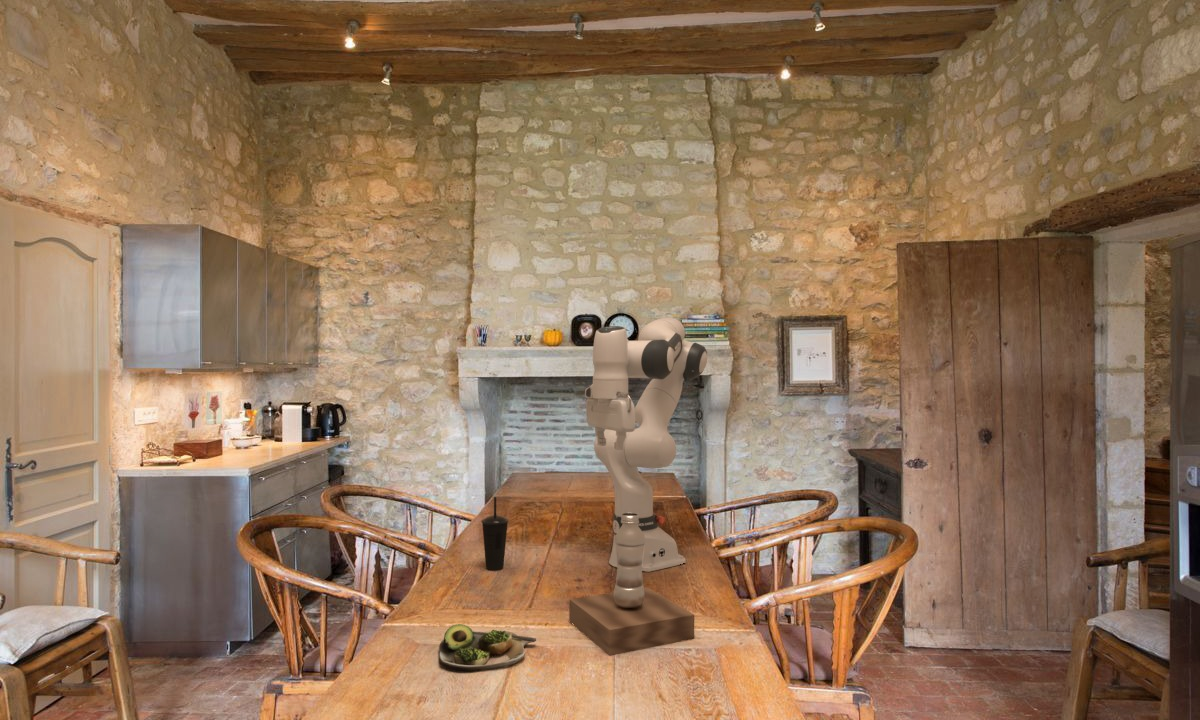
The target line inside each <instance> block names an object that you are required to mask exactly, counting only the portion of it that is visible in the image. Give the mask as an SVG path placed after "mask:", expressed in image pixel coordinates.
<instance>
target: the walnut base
mask: <svg viewBox="0 0 1200 720" xmlns="http://www.w3.org/2000/svg"><path fill="white" fill-rule="evenodd" d="M644 594H645V595H644V601H643V603H642V605H641V606H639V607H636V608H624V607H620V606H618V605H617V604H616V602H615V600H614V591H613V592H605V593H600V594H594V595H588V596H581V597H574V598H569V601H568V602H569V611H568V612H569V614H568V615H569V618H568V622H569V621H570V622H569V623H571V624H572V623H573V624H574V625H575V626H576V627H577V628H576V629H577V630H579V631H580V632H581V633H582V634H584V635H585V636H586V637H587V638H588V639H589V640H591V641H592V642H593V643H594V644H596V645H597V646H598V648H600V649H601V650H602V651H603V652H605V653H606V654H607V655H608V656H613V655H617V654H619V655H620V654H622V653H627V652H634V651H639V650H643V649H649V648H652V647H653V648H654V647H658V646H663V645H668V644H669V645H670V644H674V643H679V642H683V641H689V640H694V639H695V613H693V612H691V611H689V610H687V609H685V608H683V606H680V605H678V604H676V603H675V602H674V601H672V600H670V599H669V598H667V597H665V596H663V595H661V594H660V593H658V592H656V591H655V590H653V589H651V588H649V587H648V586H644ZM573 624H572V625H573ZM574 625H573V626H574ZM575 626H574V627H575Z"/></svg>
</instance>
